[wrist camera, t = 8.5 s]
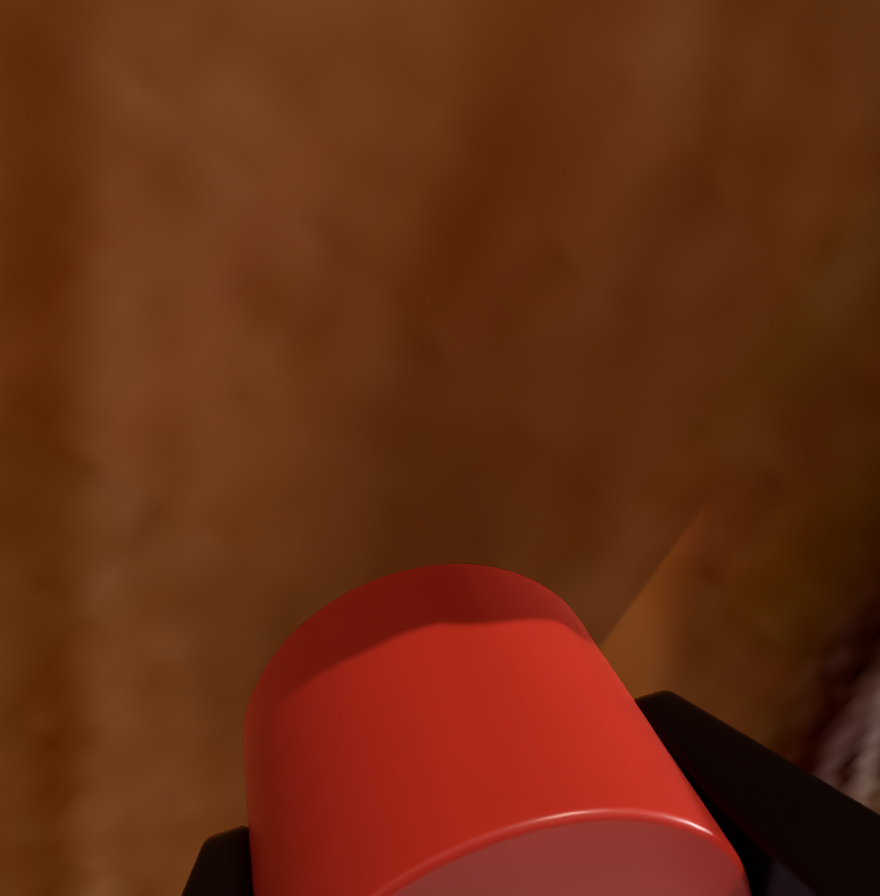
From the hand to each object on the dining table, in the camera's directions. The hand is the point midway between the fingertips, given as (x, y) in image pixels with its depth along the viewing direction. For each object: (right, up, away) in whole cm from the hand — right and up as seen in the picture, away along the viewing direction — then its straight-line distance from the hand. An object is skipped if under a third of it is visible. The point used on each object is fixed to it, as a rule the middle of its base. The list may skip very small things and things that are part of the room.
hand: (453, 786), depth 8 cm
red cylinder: (0, 0, +1) cm, 1 cm away
